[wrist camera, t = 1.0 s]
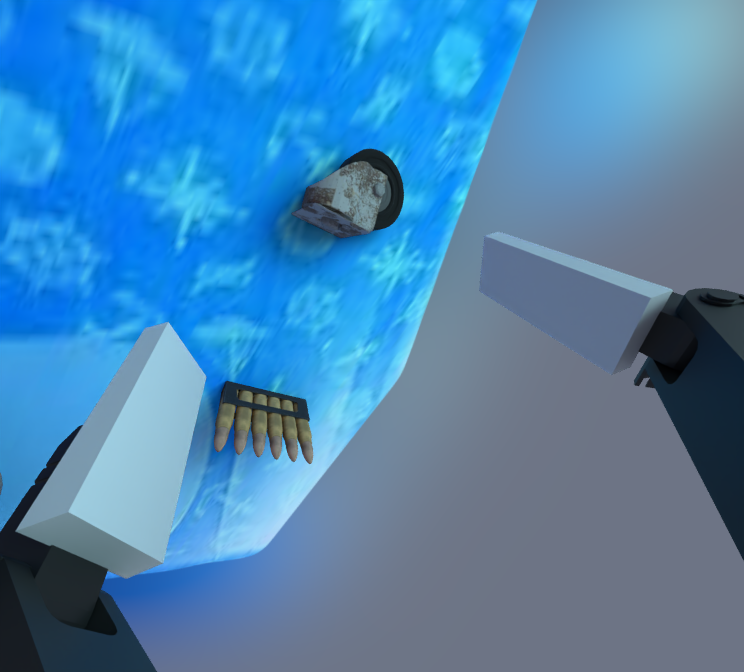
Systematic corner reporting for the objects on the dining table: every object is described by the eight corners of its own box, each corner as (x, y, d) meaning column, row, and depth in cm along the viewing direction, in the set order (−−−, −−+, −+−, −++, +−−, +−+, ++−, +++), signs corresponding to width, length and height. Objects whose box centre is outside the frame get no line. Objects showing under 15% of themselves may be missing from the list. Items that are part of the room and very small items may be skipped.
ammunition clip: (306, 399, 40) (322, 457, 29) (301, 410, 40) (315, 472, 29) (226, 380, 35) (209, 440, 24) (220, 393, 35) (202, 458, 24)
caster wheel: (388, 183, 37) (368, 255, 38) (312, 129, 30) (289, 218, 31) (424, 169, 32) (400, 254, 32) (342, 100, 25) (313, 208, 26)
